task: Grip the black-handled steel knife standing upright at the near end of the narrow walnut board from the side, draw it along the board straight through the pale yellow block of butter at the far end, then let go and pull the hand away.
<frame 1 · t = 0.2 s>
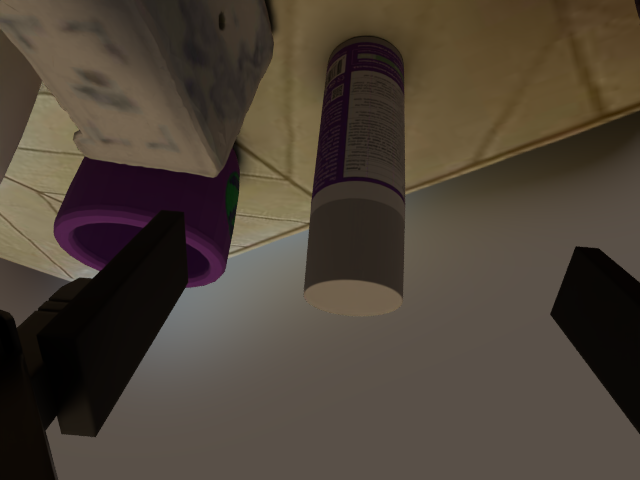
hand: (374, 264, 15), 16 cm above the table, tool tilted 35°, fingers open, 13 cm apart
mug: (182, 167, 37), on the table
container: (365, 67, 27), on the table
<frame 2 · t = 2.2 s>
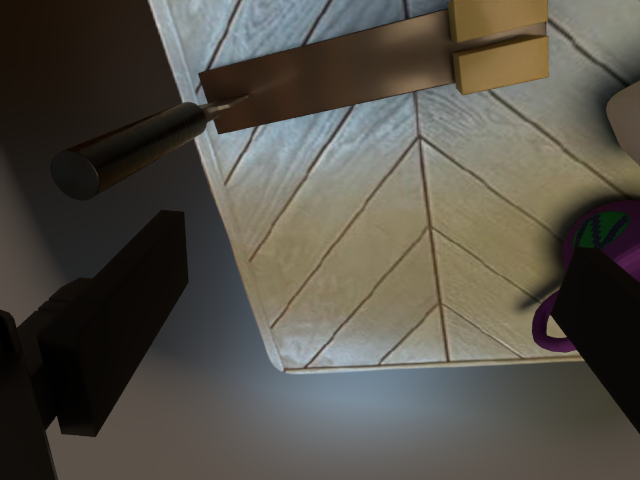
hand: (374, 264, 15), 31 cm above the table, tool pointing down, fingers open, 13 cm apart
knife: (176, 126, 32), point 13 cm above the table, slide at 0.0 cm
butter: (488, 36, 38), resting on board
board: (362, 66, 40), on the table
mug: (587, 260, 46), on the table
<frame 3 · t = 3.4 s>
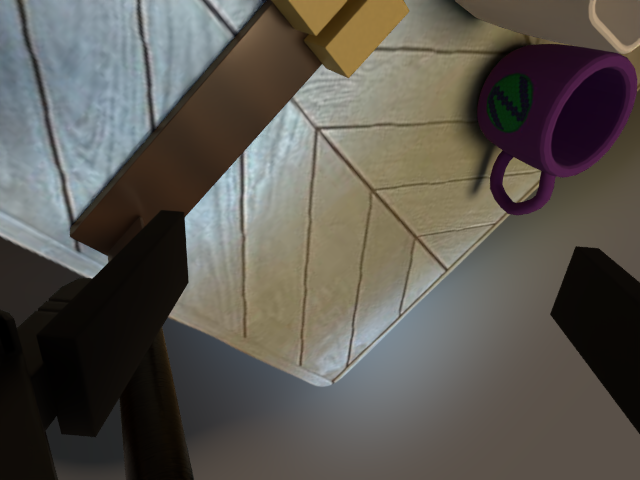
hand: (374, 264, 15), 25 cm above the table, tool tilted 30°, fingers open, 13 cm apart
knife: (138, 328, 26), point 13 cm above the table, slide at 0.0 cm
butter: (319, 0, 34), resting on board
board: (225, 107, 35), on the table
mug: (499, 121, 49), on the table
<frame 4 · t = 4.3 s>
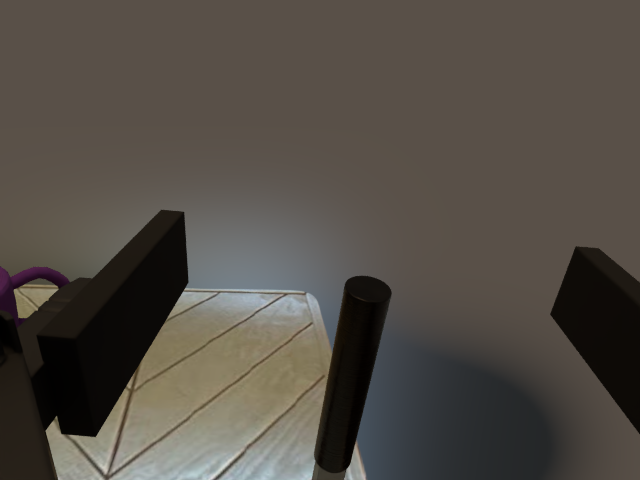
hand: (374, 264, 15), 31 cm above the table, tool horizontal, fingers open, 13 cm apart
knife: (337, 431, 29), point 14 cm above the table, slide at 0.0 cm
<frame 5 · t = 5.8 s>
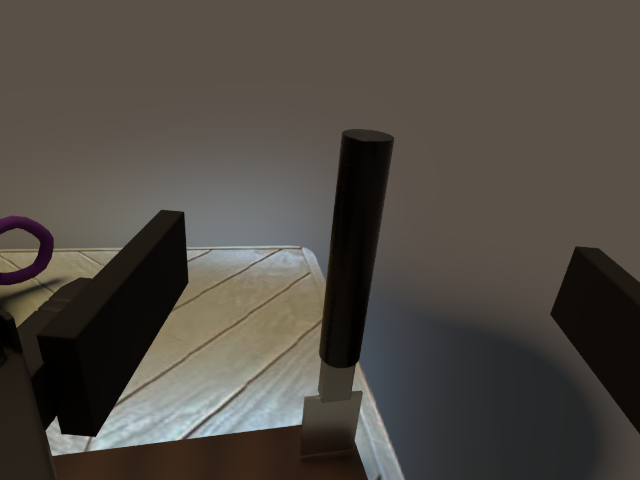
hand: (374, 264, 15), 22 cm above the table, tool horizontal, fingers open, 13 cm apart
knife: (343, 322, 27), point 13 cm above the table, slide at 0.0 cm
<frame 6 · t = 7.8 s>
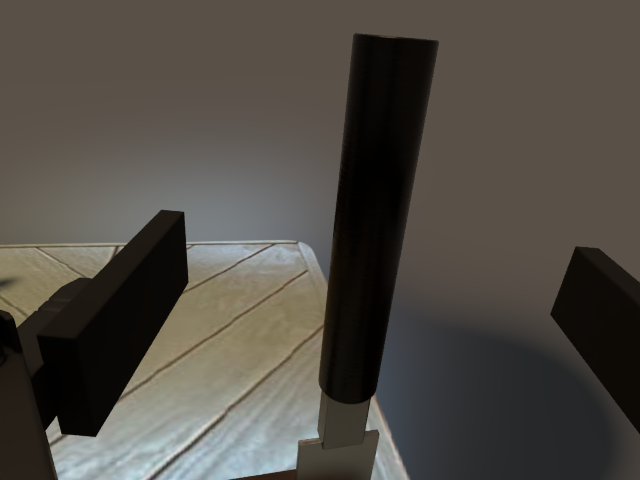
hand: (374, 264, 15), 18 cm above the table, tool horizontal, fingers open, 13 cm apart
knife: (353, 337, 18), point 13 cm above the table, slide at 0.0 cm
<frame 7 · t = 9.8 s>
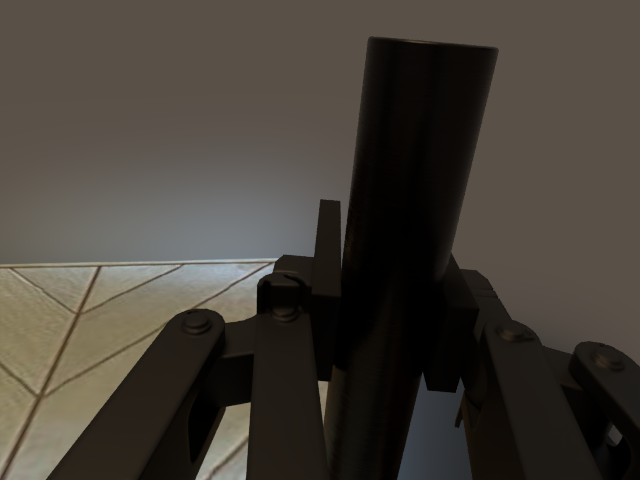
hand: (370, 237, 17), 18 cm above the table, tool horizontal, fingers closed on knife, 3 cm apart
knife: (363, 437, 14), point 13 cm above the table, slide at 0.0 cm, touching gripper
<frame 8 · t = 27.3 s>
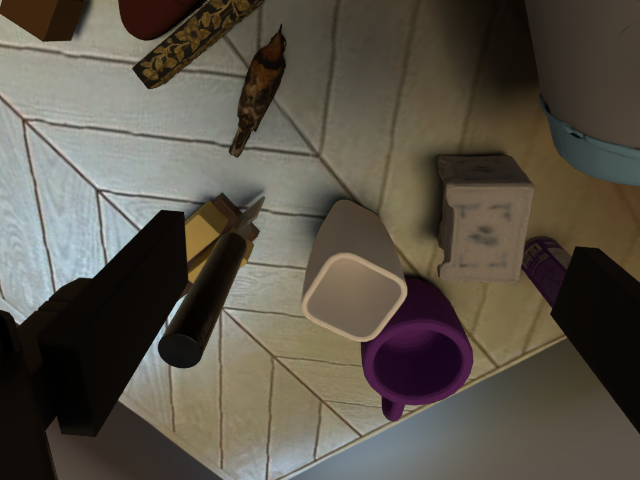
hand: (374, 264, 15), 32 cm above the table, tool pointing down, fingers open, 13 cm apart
bird model: (259, 94, 43), on the table
knife: (225, 259, 36), point 13 cm above the table, slide at 30.3 cm
butter: (215, 234, 50), resting on board
board: (153, 286, 53), on the table
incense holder: (462, 196, 47), on the table
mug: (398, 328, 55), on the table
cup: (349, 225, 49), on the table
decorative block: (213, 27, 41), on the table
container: (537, 253, 50), on the table
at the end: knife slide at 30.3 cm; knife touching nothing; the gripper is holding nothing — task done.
